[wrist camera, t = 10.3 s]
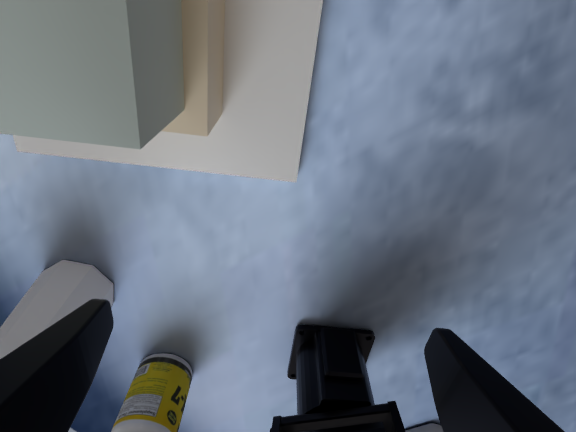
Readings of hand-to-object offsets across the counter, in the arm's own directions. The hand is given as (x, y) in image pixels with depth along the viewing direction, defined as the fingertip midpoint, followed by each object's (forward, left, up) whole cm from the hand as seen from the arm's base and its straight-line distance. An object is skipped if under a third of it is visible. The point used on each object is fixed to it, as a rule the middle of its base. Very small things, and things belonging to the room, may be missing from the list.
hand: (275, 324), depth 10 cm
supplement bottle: (-21, +8, -13) cm, 26 cm away
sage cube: (+6, +7, -8) cm, 12 cm away
